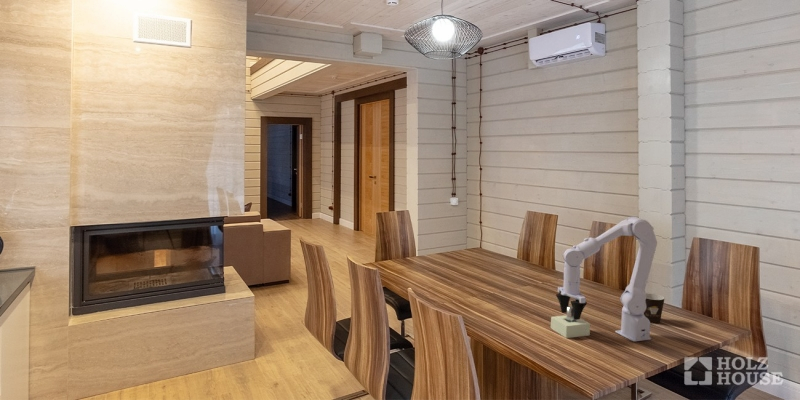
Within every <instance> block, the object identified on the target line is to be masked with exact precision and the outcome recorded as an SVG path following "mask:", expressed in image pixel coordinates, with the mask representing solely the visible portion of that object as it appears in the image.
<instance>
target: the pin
mask: <svg viewBox="0 0 800 400" xmlns="http://www.w3.org/2000/svg"><path fill="white" fill-rule="evenodd" d="M565 315H566V321H567V322H575V320H574V318H573V308H572V305H568V306H567V312H566V314H565Z"/></svg>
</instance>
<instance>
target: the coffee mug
mask: <svg viewBox="0 0 800 400" xmlns="http://www.w3.org/2000/svg"><path fill="white" fill-rule="evenodd" d="M645 293H646V300H645V302H646V310H645V312H644V316H645V317H646V318H648V319H649V321H650V324H660V323H661V320H662V319H661V318H662V315H663V314H662V313H663V308H664V304H665V303H664V302H665V299H666V298H665V297H664V295H661V294H656V293H651V292H650V293H649V292H648V293H647V292H645Z"/></svg>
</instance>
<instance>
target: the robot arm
mask: <svg viewBox="0 0 800 400" xmlns="http://www.w3.org/2000/svg"><path fill="white" fill-rule="evenodd" d="M621 236H626V237H632V236H633V237H634V238H635V239H636V240H637V242H638V243H639V246H638V251H637V255H636V258H635V261H634V262H635V263H634V266H633V270H632V274H631V277H630V280H629V284H628V285H626V287H625V290H624V291H623V293H622V294H621V295H620V302H621V304H622V305H623V307H622V308H621V323H620V325H621V326H620V329H619V330H615V333H616V334H618V335H620V336H622V337H623V338H626V339H628V340H630V341H631V342H640V341H641V342H642V341H650V340H652V337H651V336H650V334H651V333H650V332H651V323H650V321H649V319H648V318H646V317H645V316H644V312H645V310H646V302H645V300H646V293H647V292H646V287H647V283H648V279H649V275H650V272H651V268H652V265H653V262H654V256H655V255H656V254H655V253H656V249H657V246H658V241H657V240H658V239H657V238H656V235H655V232H654V227H653V226H652V224H651V223H650V222H649V221H648V220H646V219H642V218H640V217H638V216H635V215H633V216H629V217H627V218H626V219H623V220H621V221H619V222H618V223H617V224H615V225H614V226H612V227H611V228H609V229H607V231H605V232H603V233H602V234H599V235H598V236H597V237H595V238H594V237H585V238H583V241H582V242H580V243H578V244H577V245H575V244H574V245H573V246H572V248H570V247H569V248H567V249H565V251H564V252H563V254H562V258H563V260H564V264H563V266H564V267H563V284H562V285H563V286H558V287H557V292H558V293H556V295H555V296H556V298H557V300H558V303H559V306H560V307H559V308H560V310H561V313H562V314H565V313H566V314H567V306H570V304H571V306H572V308H573V318H574V320H578V319H580V318H581V316H582V313H583V311H584V308H585V307H586V306H587V305H588V302H587V301H586V300H587V298H586V297H585V296H584V295H583V294H582V293H581V291H580V290H581V289H580V285H581V265H582V263H583V260H586V259H588V258H589V257H592V256H593V255H595V254H597V253H598V252H599V251H600V250H601V247H602V246H604V245H605V244H607V243H609V242H611V241H613V240H615V239H617V238H618V237H621ZM571 299H573V300H571Z"/></svg>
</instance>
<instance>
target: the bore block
mask: <svg viewBox="0 0 800 400" xmlns="http://www.w3.org/2000/svg"><path fill="white" fill-rule="evenodd" d="M566 315H567V314H563V315H557V316H550V329H552V330H553V331H554V332H556V333H558V334H559V335H560V336H562V337H564V338H565V339H569V338H578V337H586V336H588V337H589V336H590V335H591V334H590V333H591V323H590V322H588V321H586V320H585V319H583V318H581V317H580V319H578V320H575V322H567V321H566Z"/></svg>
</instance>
